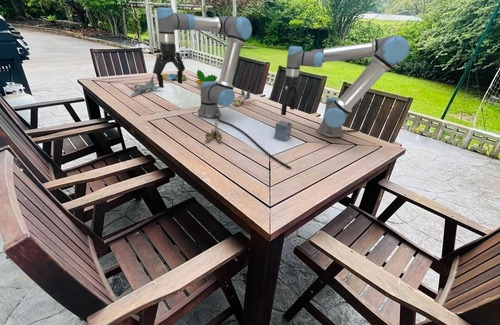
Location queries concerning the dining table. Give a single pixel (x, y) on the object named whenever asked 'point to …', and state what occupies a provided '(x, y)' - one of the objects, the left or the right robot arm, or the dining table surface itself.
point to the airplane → (145, 87)
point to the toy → (242, 99)
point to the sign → (172, 77)
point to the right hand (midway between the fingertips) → (287, 112)
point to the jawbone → (214, 134)
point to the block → (283, 130)
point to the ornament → (203, 79)
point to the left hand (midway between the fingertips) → (171, 85)
